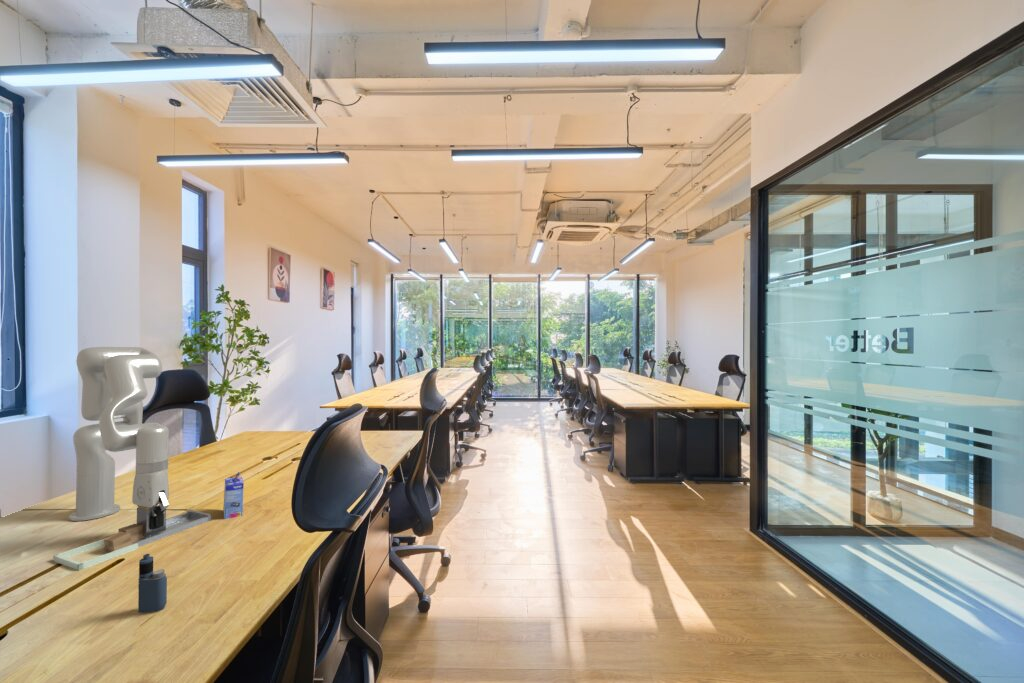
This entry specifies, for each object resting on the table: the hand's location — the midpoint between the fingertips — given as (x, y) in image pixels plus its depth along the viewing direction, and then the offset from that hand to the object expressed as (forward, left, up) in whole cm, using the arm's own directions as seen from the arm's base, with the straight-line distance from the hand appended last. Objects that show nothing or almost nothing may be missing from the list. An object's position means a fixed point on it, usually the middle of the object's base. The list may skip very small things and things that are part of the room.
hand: (151, 525), depth 125 cm
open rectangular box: (0, +3, -4) cm, 5 cm away
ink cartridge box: (+6, +21, -4) cm, 22 cm away
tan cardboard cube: (-1, -5, -3) cm, 5 cm away
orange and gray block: (0, 0, -2) cm, 2 cm away
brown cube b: (+1, -8, -3) cm, 9 cm away
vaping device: (+41, -20, -4) cm, 46 cm away
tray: (0, -13, -4) cm, 13 cm away
